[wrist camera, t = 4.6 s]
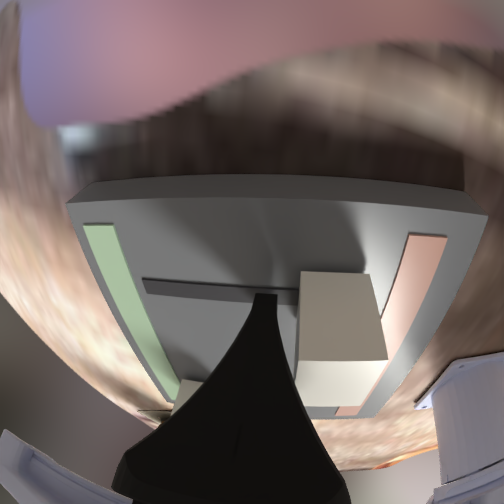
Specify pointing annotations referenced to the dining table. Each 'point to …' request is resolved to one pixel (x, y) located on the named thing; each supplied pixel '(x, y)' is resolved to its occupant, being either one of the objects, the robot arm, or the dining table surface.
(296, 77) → the dining table surface
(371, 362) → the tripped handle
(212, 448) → the robot arm
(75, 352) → the dining table surface
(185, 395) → the handle
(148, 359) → the grey board
